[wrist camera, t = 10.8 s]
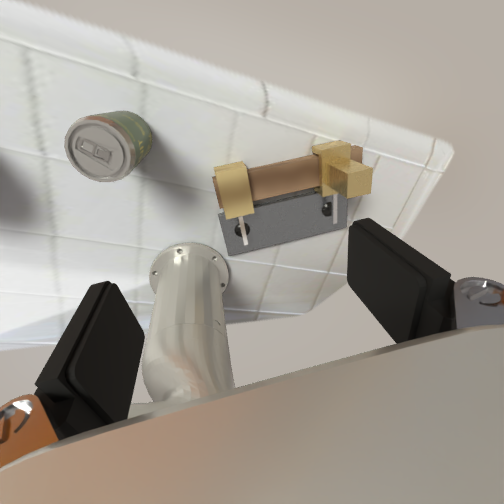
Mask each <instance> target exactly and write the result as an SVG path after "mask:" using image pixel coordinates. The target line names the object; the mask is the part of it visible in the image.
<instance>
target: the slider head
mask: <svg viewBox="0 0 504 504" xmlns="http://www.w3.org/2000/svg"><path fill="white" fill-rule="evenodd" d="M312 152H313V153H315V154H317V155H319V184H320V186H317V187H314V191H315V192H317V193H318V194H319V195H321V196H322V197H325V196H330V195H332V223H333V224H335V223H337V194H338V193H339V194H341V195H342V196H344V197H345V198H347V199H349V198H353V197H357V196H361V195H366V194H370V193H371V184H372V172H373V168H371V167H369V166H366V165H364V164H361V163H359V162H356V161H354V160H351V159H350V155H351V144H350V143H347V142H343V141H340V140H339V141H334V142H329V143H325V144H320V145H316V146H312Z"/></svg>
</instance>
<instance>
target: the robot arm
mask: <svg viewBox="0 0 504 504" xmlns="http://www.w3.org/2000/svg"><path fill="white" fill-rule="evenodd" d="M179 249H181V250H179ZM214 256H216V257H214ZM450 277H451V274H450V273H449V272H447V271H446V270H444V269H443V268H441V267H440V266H438V265H437V264H436V263H434V262H433V261H431V260H430V259H428V258H427V257H425V256H424V255H422V254H421V253H419V252H418V251H417V250H415V249H414V248H412V247H411V246H409V245H408V244H406V243H405V242H404V241H402V240H401V239H399V238H398V237H396V236H395V235H393V234H392V233H391V232H389V231H388V230H386V229H385V228H383V227H382V226H380V225H379V224H377V223H376V222H375V221H373V220H372V219H370V218H365V219H361V220H357V221H354V222H353V224H352V226H350V227H349V237H348V267H347V281H348V284H349V286H350V287H351V288H352V290H353V291H354V292H355V293H356V295H357V296H358V297H359V298H360V299H361V301H362V302H363V303H364V304H365V306H366V307H367V308H368V309H369V310H370V312H371V313H372V314H373V315H374V316H375V318H376V319H377V320H378V321H379V323H380V324H381V325H382V326H383V328H384V329H385V330H386V331H387V332H388V334H389V335H390V336H391V337H392V339H393V340H394V341H395V342H396V343H397V344H394V345H390V346H386V347H383V348H379V349H375V350H372V351H368V352H364V353H361V354H357V355H353V356H350V357H346V358H342V359H339V360H335V361H331V362H328V363H324V364H320V365H317V366H313V367H309V368H306V369H302V370H299V371H295V372H291V373H288V374H284V375H281V376H277V377H274V378H270V379H267V380H263V381H259V382H256V383H252V384H248V385H245V386H241V387H238V388H235V384H234V379H233V374H232V368H231V362H230V354H229V347H228V340H227V332H226V324H225V316H224V308H223V300H222V293H223V292H224V291H225V289H226V287H227V284H228V279H229V274H228V268H227V264H226V262H225V261H224V259H223V258H222V256H221V255H220V254H219V253H218V252H216V251H215V250H214V249H212V248H210V247H208V246H205V245H202V244H197V243H182V244H177V245H174V246H171V247H169V248H167V249H166V250H164V251H162V252H161V253H160V254H159V255H158V256H157V257H156V259H155V260H154V261H153V264H152V266H151V269H150V274H149V280H150V285H151V287H152V289H153V291H154V293H155V294H156V296H155V301H154V306H153V311H152V315H151V320H150V325H149V330H148V335H147V339H146V344H145V349H144V354H143V359H142V375H143V379H144V384H145V386H146V388H147V390H148V393H149V395H150V397H151V398H152V400H153V402H149V403H134V404H131V400H132V395H133V390H134V386H135V382H136V377H137V372H138V367H139V363H140V358H141V354H142V349H143V344H144V339H145V336H144V332H143V330H142V328H141V326H140V324H139V323H138V321H137V319H136V317H135V316H134V314H133V312H132V310H131V309H130V307H129V305H128V303H127V302H126V300H125V298H124V296H123V295H122V293H121V291H120V290H119V288H118V286H117V285H116V284H115V283H113V284H112V283H111V282H109V281H105V282H101V283H97V284H93V285H91V286H90V287H89V289H88V291H87V293H86V294H85V296H84V298H83V300H82V301H81V303H80V305H79V307H78V308H77V310H76V312H75V314H74V316H73V317H72V319H71V321H70V323H69V324H68V326H67V328H66V330H65V331H64V333H63V335H62V337H61V338H60V340H59V342H58V344H57V345H56V347H55V349H54V351H53V353H52V354H51V356H50V358H49V360H48V362H47V363H46V365H45V367H44V368H43V370H42V372H41V374H40V375H39V377H38V379H37V381H36V383H35V385H36V386H37V387H38V388H37V390H36V392H35V393H34V395H32V394H27V395H22V396H19V397H17V398H15V399H12V400H11V401H9V402H7V403H6V404H4V405H3V406H1V407H0V504H504V285H503V284H501V283H499V282H496V281H493V280H490V279H485V278H479V277H468V278H463V279H460V280H458V281H457V282H456V283H455V282H454V281H453V280H451V279H450Z"/></svg>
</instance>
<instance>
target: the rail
mask: <svg viewBox="0 0 504 504" xmlns="http://www.w3.org/2000/svg"><path fill="white" fill-rule="evenodd" d="M362 152H363V147H359V146H356V145H354V146H351V155H350V159H351V160H354V161H356V162H359V163H361V164H362ZM214 171H215V175H216V176H214V177H212V178H213V183H214V187H215V191H216V195H217V199H218V203H219V207H220V209H221V208H224V212H225V216H226V220H227V219H231V218H235V217H238V219H239V224H240V228H241V233H242V237H243V242H244V245H248V240H247V236H246V231H245V226H244V221H243V216H244V215H248V214H252V213H254V208H253V202H252V201H256V200H260V199H265V198H269V197H273V196H278V195H282V194H286V193H291V192H295V191H299V190H304V189H308V188H312V187H317V186H320V184H319V155H317V154H314V155H309V156H305V157H300V158H296V159H291V160H287V161H282V162H278V163H273V164H269V165H264V166H259V167H255V168H250V169H247V168H246V166H245V164H244V163H243V162H242V161H241V162H236V163H232V164H227V165H223V166H218V167H214Z"/></svg>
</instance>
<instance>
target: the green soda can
mask: <svg viewBox="0 0 504 504" xmlns="http://www.w3.org/2000/svg"><path fill="white" fill-rule="evenodd" d="M151 145H152V134H151V131H150V129H149V126H148V125H147V124H146V122H145V121H144V120H143V119H142V118H141V117H139V116H138V115H137V114H134V113H132V112H129V111H116V112H110V113H103V114H97V115H90V116H86V117H83V118H80V119H78V120H77V121H76V122H75V123H73V124H72V125H71V127H70V128H69V130H68V132H67V134H66V136H65V146H64V147H65V151H66V154H67V157H68V159H69V160H70V162H71V164H72V165H73V167H75V168H76V169H77V170H78V171H79V172H80V173H81V174H82V175H84V176H86V177H88V178H89V179H92V180H95V181H99V182H114V181H117V180H120V179H123V178H124V177H126V176H127V175H128V174H130V172H131V171H132V170H133V169H134V168H135V167H136V166H137V165H138V164H139V162H140V161H141V160H142V159H143V158H144V157H145V156H146V155H147V154H148V152H149V150H150V149H151Z"/></svg>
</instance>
